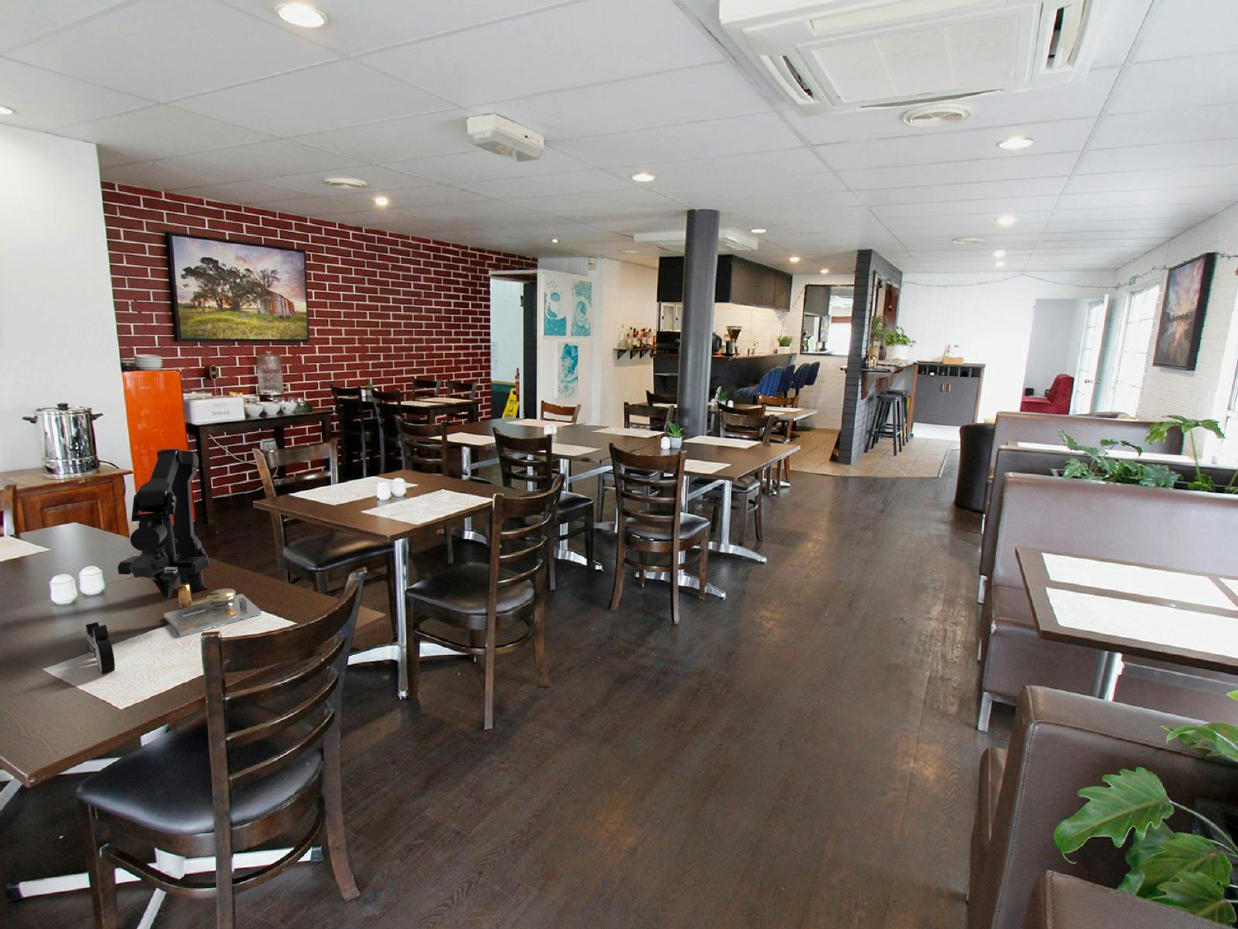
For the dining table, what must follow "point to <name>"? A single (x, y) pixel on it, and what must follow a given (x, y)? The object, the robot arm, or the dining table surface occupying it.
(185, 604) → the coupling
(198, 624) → the base
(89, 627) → the logo
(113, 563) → the dining table surface
